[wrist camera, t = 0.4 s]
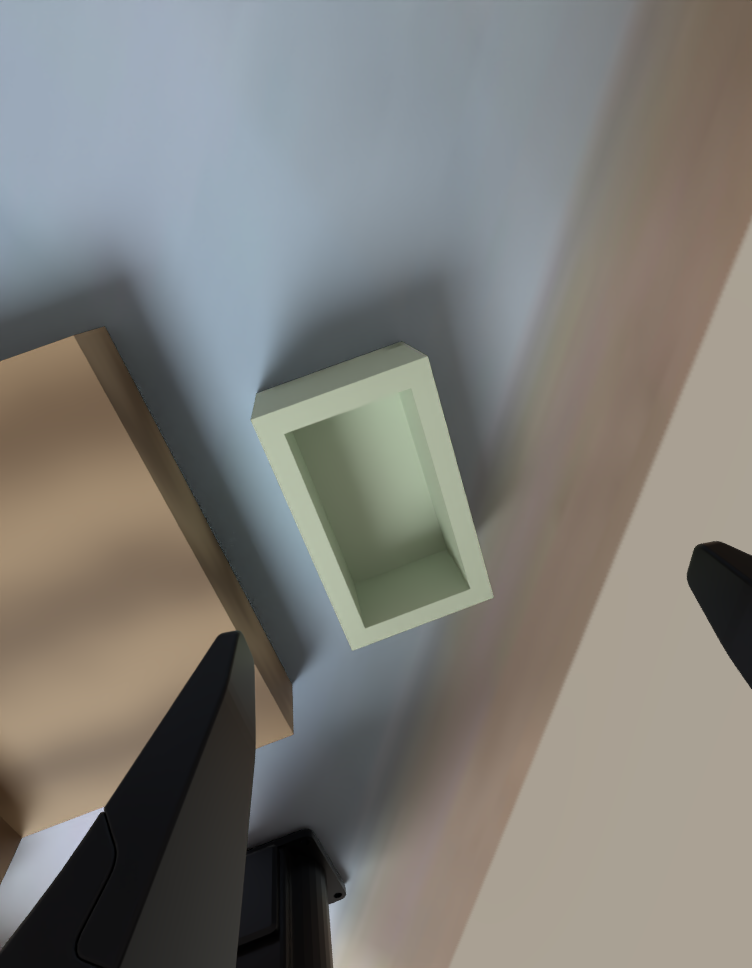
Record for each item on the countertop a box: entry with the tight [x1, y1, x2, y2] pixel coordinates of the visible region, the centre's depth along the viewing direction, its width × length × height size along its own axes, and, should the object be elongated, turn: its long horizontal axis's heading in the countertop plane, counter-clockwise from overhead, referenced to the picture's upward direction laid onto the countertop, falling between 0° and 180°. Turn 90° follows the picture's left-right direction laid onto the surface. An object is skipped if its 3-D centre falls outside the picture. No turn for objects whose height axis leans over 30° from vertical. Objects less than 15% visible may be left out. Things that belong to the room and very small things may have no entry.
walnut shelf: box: [0, 326, 294, 884], centre depth 19 cm, size 18×14×6 cm
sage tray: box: [251, 341, 494, 651], centre depth 20 cm, size 10×6×4 cm, turn 18°
